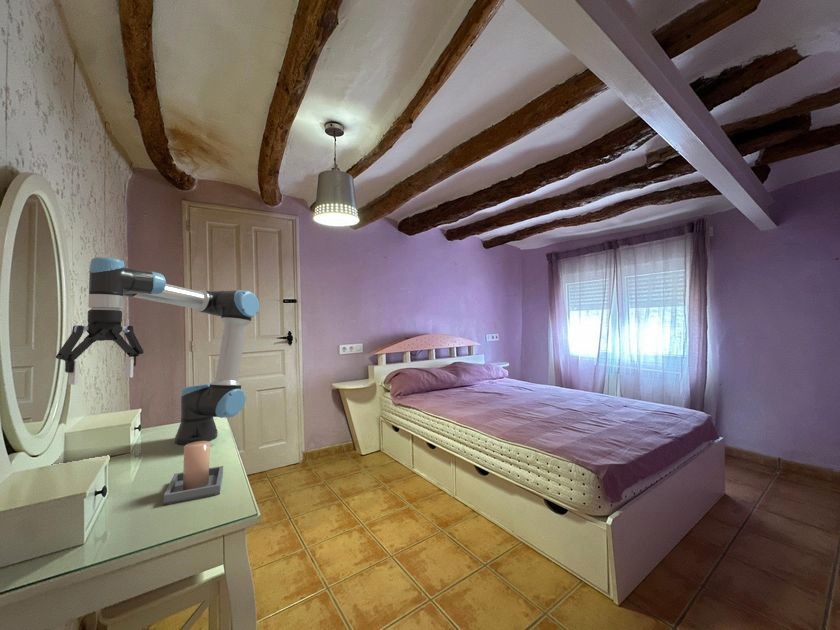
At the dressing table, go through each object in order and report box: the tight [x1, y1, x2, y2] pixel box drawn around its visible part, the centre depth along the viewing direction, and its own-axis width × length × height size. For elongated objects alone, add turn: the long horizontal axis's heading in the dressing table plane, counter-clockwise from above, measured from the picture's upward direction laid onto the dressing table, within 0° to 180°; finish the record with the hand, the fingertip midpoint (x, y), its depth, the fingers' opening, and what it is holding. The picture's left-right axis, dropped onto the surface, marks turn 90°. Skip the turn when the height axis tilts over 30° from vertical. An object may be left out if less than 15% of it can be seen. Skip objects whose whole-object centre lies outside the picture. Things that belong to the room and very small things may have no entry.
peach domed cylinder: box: [182, 441, 211, 490], centre depth 99 cm, size 6×6×12 cm
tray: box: [162, 465, 224, 506], centre depth 99 cm, size 15×13×2 cm
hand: (102, 380), depth 99 cm, fingers open, 13 cm apart
